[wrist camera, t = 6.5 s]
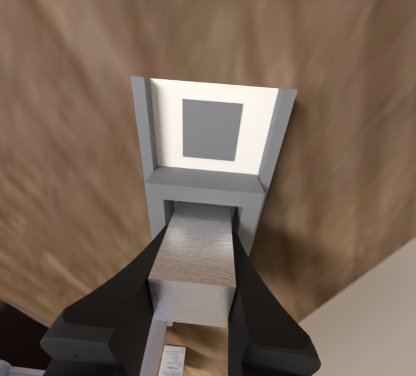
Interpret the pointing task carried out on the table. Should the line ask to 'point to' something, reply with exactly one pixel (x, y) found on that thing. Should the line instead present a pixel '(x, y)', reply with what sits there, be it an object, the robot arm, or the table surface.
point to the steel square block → (195, 266)
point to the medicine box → (172, 361)
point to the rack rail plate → (209, 147)
